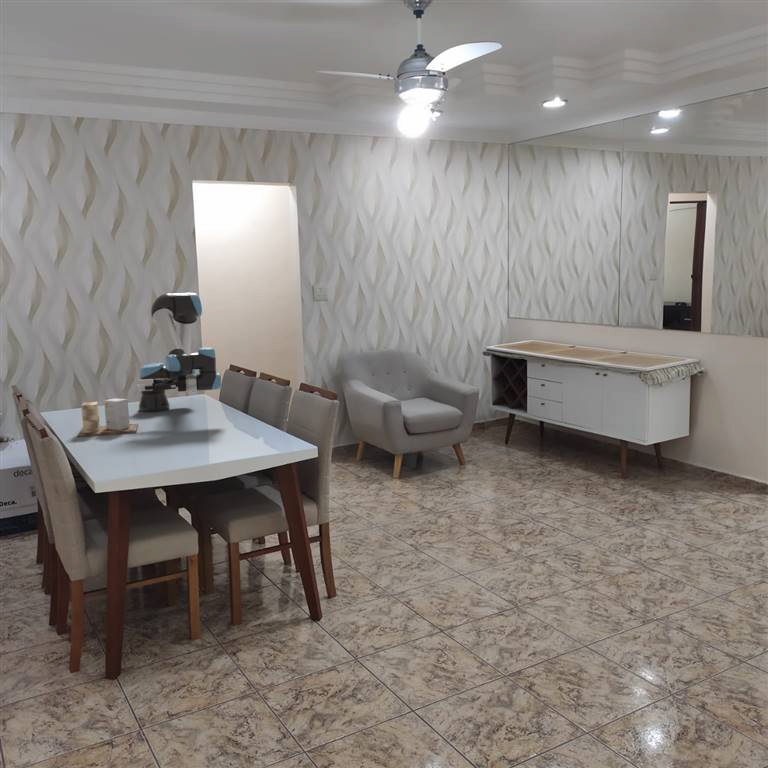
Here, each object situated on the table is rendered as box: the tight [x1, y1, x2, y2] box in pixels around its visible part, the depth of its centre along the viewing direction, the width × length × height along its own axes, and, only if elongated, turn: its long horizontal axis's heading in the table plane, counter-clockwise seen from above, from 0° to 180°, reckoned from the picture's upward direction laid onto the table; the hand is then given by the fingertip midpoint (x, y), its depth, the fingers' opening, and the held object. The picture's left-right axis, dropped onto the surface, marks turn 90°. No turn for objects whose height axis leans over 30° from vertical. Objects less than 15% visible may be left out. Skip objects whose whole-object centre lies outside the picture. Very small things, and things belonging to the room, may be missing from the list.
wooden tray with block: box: [77, 401, 139, 438], centre depth 332 cm, size 24×16×13 cm, turn 105°
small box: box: [103, 398, 131, 430], centre depth 333 cm, size 8×6×13 cm
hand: (137, 385), depth 337 cm, fingers open, 13 cm apart
